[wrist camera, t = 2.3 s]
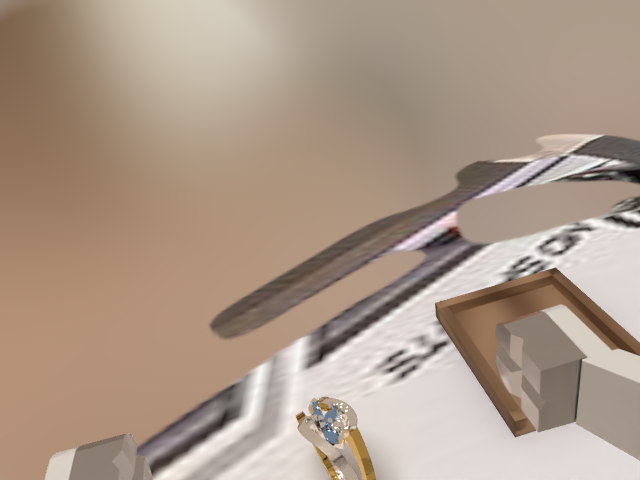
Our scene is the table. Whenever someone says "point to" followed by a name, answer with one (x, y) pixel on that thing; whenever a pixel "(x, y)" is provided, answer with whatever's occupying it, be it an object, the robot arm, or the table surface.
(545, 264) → the table surface
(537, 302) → the tray
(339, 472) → the ring
